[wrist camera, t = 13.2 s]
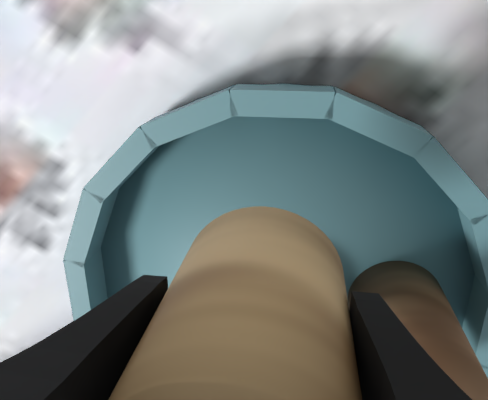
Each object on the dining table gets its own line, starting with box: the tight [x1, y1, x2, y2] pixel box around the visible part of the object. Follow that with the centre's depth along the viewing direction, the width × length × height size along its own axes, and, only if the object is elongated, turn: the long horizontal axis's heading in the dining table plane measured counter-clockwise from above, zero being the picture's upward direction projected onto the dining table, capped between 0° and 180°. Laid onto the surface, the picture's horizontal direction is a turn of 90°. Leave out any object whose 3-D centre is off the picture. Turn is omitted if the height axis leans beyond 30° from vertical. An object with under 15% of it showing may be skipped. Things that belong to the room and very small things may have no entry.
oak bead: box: [108, 206, 362, 400], centre depth 9 cm, size 4×4×6 cm
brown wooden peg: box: [348, 261, 488, 400], centre depth 18 cm, size 4×4×6 cm
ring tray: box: [63, 83, 488, 378], centre depth 21 cm, size 20×20×2 cm
